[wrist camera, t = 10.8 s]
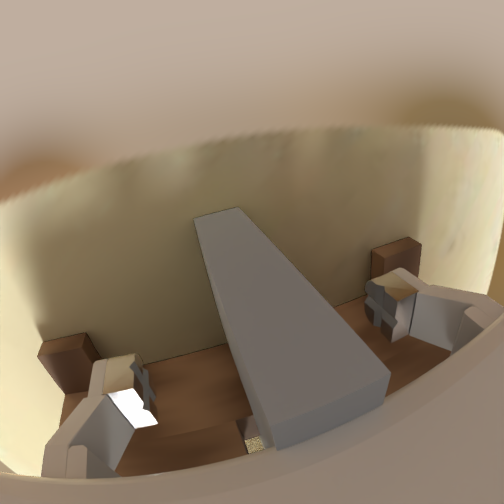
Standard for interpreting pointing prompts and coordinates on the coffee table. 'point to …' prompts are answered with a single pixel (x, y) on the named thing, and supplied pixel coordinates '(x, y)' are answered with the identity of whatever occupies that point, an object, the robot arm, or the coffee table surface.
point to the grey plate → (285, 336)
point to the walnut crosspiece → (225, 384)
